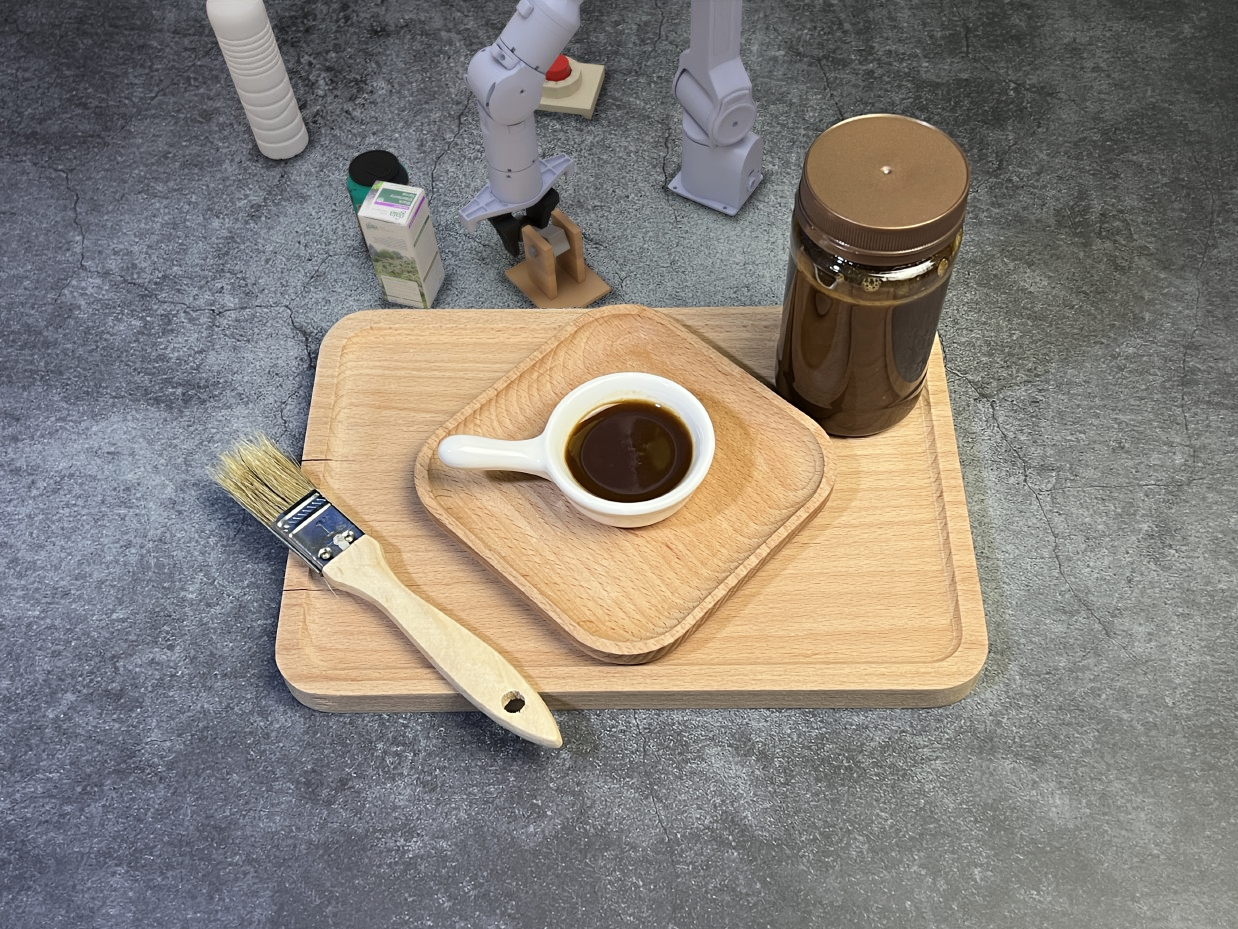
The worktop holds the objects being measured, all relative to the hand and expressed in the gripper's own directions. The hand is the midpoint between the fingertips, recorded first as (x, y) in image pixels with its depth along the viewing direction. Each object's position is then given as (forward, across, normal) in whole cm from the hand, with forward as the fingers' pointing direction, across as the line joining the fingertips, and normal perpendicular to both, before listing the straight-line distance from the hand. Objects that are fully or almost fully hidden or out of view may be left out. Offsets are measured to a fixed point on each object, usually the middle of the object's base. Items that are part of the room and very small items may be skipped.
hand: (524, 244), depth 130 cm
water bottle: (+2, +12, -37) cm, 39 cm away
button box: (+2, -21, -22) cm, 30 cm away
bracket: (+2, 0, +6) cm, 7 cm away
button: (-1, -21, -21) cm, 30 cm away
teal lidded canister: (+2, +11, -12) cm, 16 cm away
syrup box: (+2, +13, -4) cm, 14 cm away
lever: (-3, 0, +4) cm, 4 cm away
